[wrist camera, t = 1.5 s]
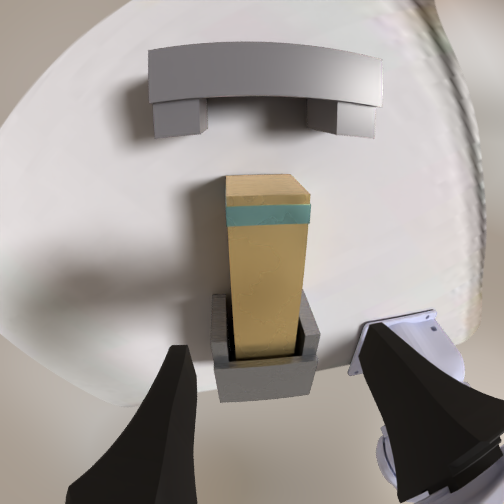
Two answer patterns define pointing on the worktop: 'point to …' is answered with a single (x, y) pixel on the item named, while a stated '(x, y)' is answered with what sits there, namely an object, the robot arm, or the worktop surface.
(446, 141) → the worktop surface
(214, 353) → the sleeve
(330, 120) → the socket
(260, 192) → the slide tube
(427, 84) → the worktop surface
